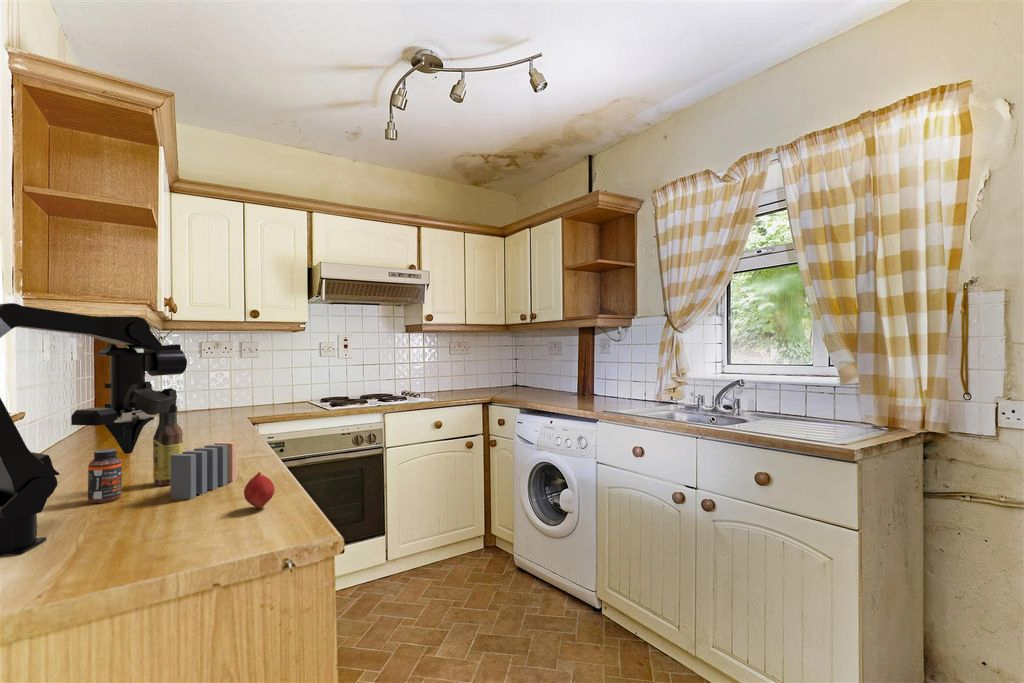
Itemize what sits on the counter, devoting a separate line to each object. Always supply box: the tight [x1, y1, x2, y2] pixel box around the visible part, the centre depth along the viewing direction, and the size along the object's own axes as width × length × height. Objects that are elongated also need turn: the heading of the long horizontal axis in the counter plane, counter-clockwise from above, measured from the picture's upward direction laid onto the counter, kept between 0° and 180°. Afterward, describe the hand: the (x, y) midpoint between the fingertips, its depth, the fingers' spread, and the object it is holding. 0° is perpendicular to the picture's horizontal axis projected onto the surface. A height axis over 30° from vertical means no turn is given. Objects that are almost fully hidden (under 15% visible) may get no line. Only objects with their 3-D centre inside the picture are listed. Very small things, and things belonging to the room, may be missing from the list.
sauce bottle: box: [152, 404, 184, 486], centre depth 126 cm, size 7×6×20 cm
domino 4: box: [203, 444, 228, 487], centre depth 124 cm, size 2×5×10 cm, turn 83°
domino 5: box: [213, 441, 238, 483], centre depth 128 cm, size 2×5×10 cm, turn 83°
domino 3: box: [193, 447, 219, 491], centre depth 121 cm, size 2×5×10 cm, turn 83°
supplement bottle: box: [87, 448, 123, 504], centre depth 113 cm, size 6×6×11 cm
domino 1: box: [170, 454, 197, 500], centre depth 114 cm, size 2×5×10 cm, turn 84°
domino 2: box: [183, 450, 208, 496], centre depth 117 cm, size 2×5×10 cm, turn 84°
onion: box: [243, 470, 276, 509], centre depth 106 cm, size 6×6×8 cm
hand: (128, 453), depth 102 cm, fingers closed
